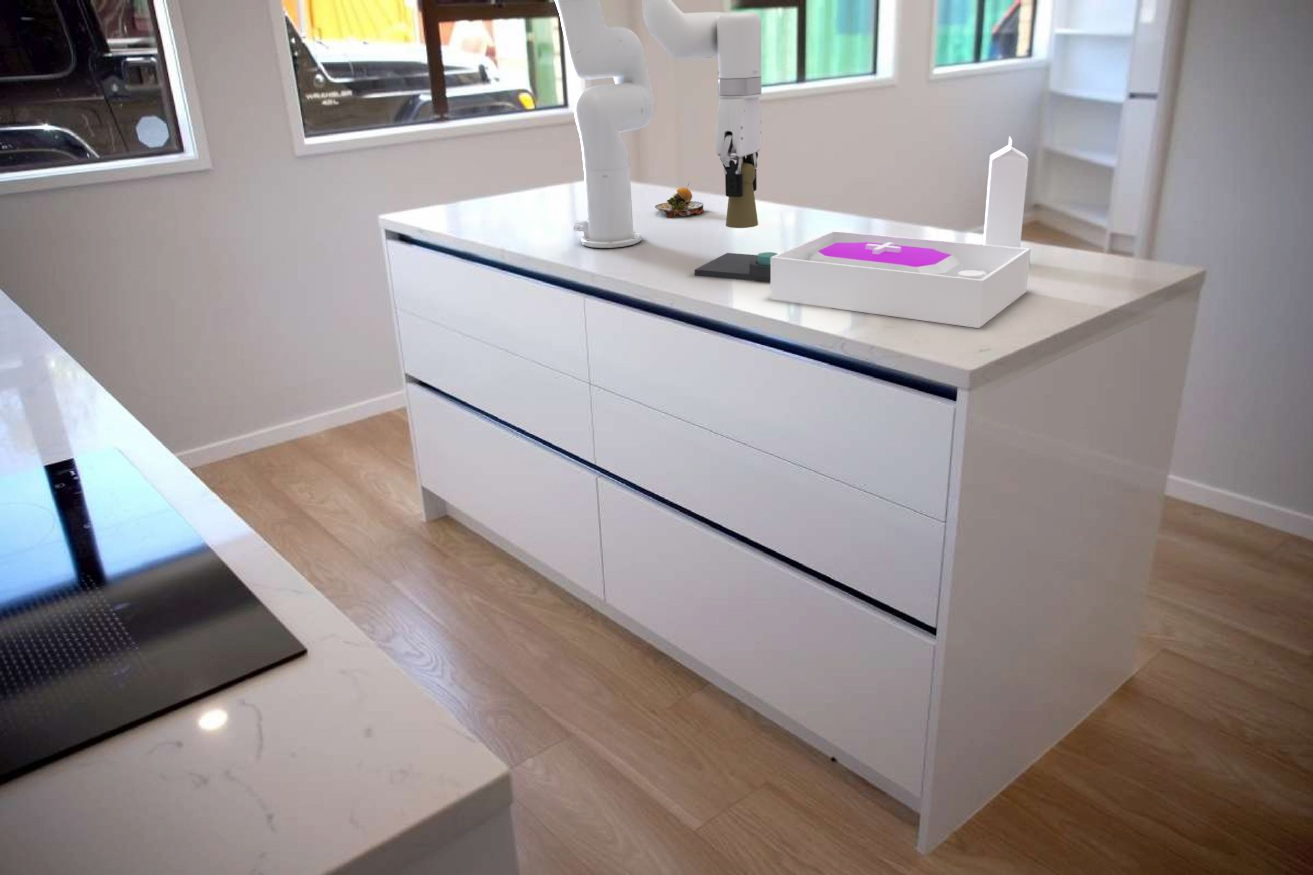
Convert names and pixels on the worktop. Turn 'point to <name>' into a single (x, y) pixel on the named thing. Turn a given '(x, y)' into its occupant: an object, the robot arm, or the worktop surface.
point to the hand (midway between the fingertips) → (741, 192)
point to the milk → (1005, 197)
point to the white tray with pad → (902, 277)
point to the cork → (743, 202)
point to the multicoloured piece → (680, 204)
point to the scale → (736, 268)
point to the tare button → (765, 258)
